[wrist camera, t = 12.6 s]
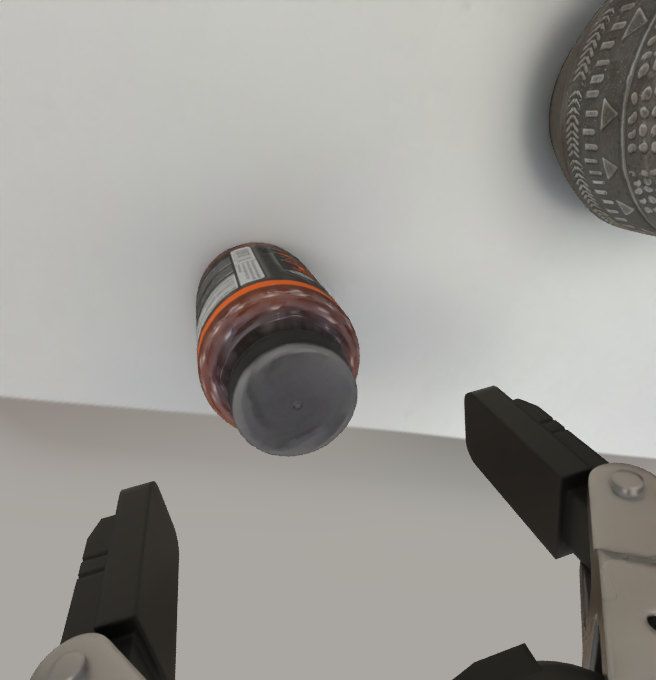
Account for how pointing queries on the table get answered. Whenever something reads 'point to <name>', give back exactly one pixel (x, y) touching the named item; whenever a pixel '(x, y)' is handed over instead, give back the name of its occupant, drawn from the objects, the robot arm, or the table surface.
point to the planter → (611, 115)
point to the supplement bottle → (275, 351)
